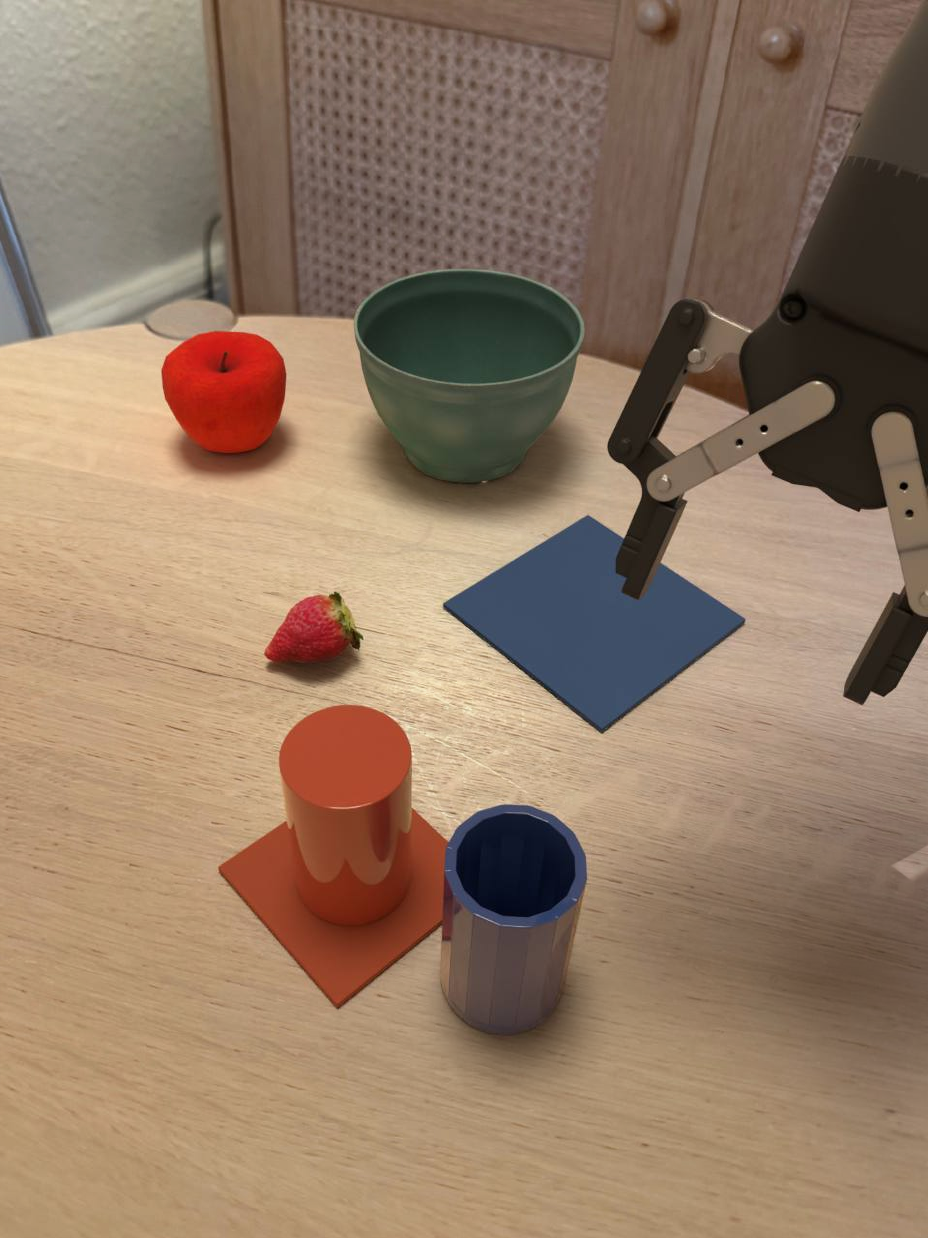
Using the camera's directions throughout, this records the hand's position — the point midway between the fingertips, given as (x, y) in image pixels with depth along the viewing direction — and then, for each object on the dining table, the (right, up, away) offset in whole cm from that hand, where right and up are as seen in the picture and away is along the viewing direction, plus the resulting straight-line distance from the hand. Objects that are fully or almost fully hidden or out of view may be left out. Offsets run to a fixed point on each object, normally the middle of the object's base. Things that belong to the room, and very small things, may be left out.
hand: (741, 642), depth 39 cm
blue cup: (-8, -17, +13) cm, 23 cm away
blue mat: (-2, +1, +31) cm, 32 cm away
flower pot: (-10, +14, +44) cm, 47 cm away
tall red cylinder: (-16, -12, +17) cm, 26 cm away
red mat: (-16, -13, +17) cm, 26 cm away
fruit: (-19, -2, +28) cm, 34 cm away
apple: (-28, +14, +44) cm, 54 cm away
